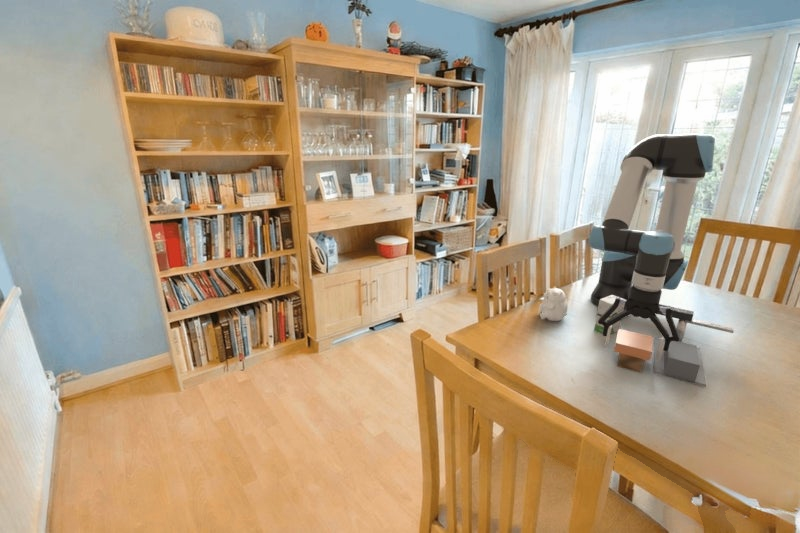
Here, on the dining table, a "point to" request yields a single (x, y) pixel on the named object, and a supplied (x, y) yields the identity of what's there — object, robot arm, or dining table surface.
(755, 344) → the dining table surface
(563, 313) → the figurine
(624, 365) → the brown wooden block
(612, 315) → the ink box
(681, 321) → the grey t-shaped piece
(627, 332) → the cover
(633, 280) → the robot arm
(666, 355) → the block
